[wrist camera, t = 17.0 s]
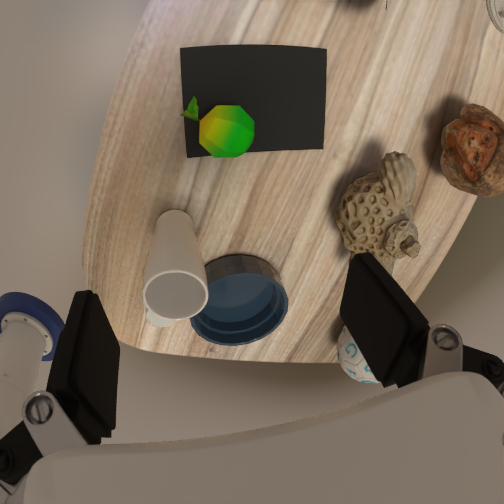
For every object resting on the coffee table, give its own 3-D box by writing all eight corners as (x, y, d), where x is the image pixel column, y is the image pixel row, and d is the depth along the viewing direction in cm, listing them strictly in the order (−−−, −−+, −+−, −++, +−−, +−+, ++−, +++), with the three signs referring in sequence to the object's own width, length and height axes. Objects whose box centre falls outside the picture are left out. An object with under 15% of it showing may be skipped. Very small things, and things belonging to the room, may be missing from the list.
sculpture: (434, 79, 36) (507, 98, 24) (482, 119, 42) (542, 145, 29) (404, 159, 44) (469, 199, 31) (455, 186, 49) (511, 224, 37)
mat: (187, 157, 37) (187, 158, 37) (180, 48, 29) (180, 48, 29) (321, 148, 40) (323, 149, 40) (324, 49, 32) (326, 49, 32)
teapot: (340, 131, 39) (407, 166, 27) (402, 145, 42) (470, 181, 30) (310, 260, 50) (349, 325, 38) (367, 259, 53) (412, 315, 41)
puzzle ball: (361, 347, 69) (388, 395, 57) (313, 342, 63) (339, 400, 51) (399, 300, 62) (435, 348, 50) (353, 288, 57) (391, 346, 44)
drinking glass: (165, 194, 39) (160, 258, 27) (208, 217, 42) (222, 286, 30) (142, 233, 41) (131, 307, 29) (183, 253, 45) (188, 329, 32)
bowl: (194, 330, 54) (197, 351, 50) (181, 260, 45) (182, 281, 41) (277, 317, 56) (285, 337, 52) (281, 247, 48) (291, 266, 44)
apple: (264, 149, 31) (181, 119, 27) (237, 177, 36) (165, 153, 32) (269, 104, 33) (197, 74, 29) (244, 132, 38) (180, 109, 35)
